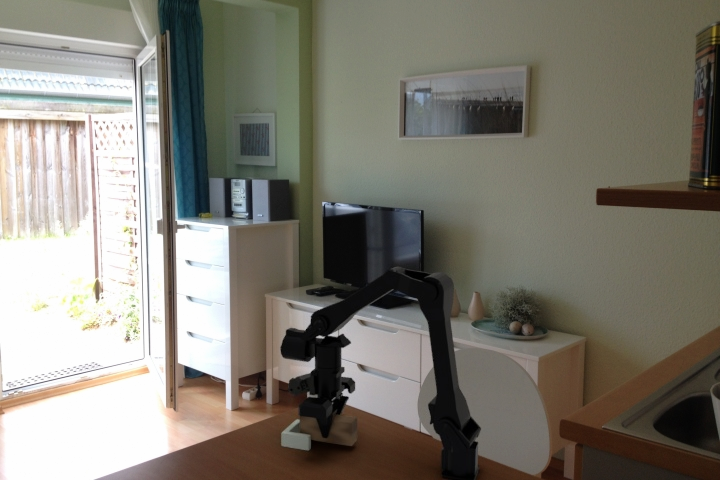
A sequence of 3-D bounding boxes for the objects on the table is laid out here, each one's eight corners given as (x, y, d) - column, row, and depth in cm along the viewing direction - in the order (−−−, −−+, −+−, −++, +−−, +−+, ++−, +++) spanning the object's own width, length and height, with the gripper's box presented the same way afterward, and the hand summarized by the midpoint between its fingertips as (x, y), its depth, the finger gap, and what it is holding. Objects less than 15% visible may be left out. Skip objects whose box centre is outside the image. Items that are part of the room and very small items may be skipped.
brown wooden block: (357, 439, 140) (357, 417, 140) (351, 446, 137) (351, 423, 137) (306, 431, 144) (306, 410, 144) (299, 438, 141) (299, 416, 140)
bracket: (322, 435, 146) (322, 423, 145) (308, 450, 138) (308, 437, 138) (296, 431, 148) (296, 419, 147) (281, 446, 140) (281, 432, 140)
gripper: (310, 349, 150) (311, 413, 152) (274, 373, 133) (275, 446, 134) (356, 353, 147) (355, 420, 148) (325, 379, 129) (325, 454, 131)
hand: (328, 434), depth 141 cm, fingers closed on brown wooden block, 3 cm apart
